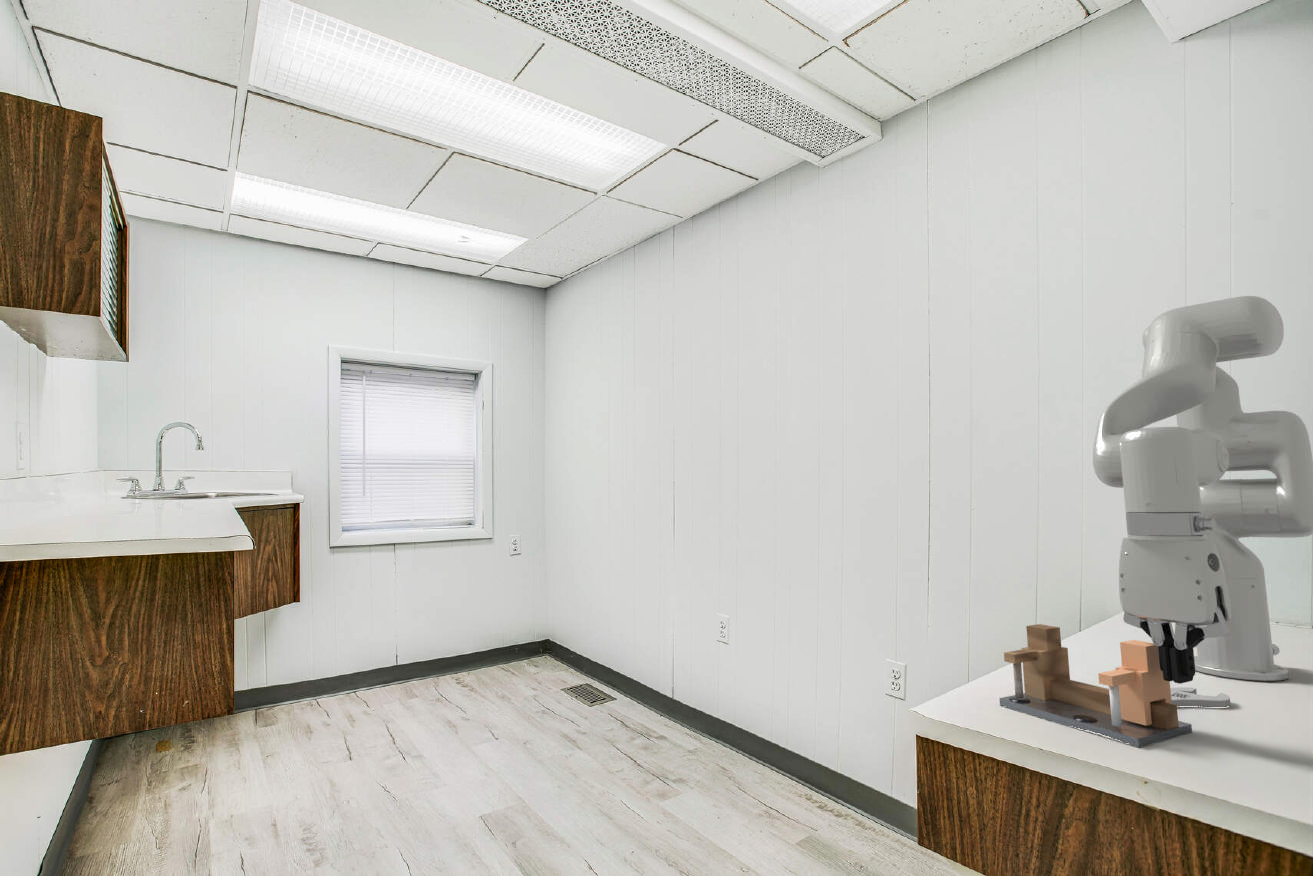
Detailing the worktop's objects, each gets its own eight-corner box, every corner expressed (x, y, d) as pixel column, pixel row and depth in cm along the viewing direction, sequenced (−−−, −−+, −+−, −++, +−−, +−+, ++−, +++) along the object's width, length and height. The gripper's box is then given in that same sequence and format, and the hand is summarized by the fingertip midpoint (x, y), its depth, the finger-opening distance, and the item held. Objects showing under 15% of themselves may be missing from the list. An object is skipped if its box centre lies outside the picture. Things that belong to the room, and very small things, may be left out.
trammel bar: (1049, 688, 96) (1044, 623, 97) (1186, 724, 80) (1178, 645, 81) (1001, 698, 92) (996, 629, 93) (1135, 738, 76) (1128, 654, 77)
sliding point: (1146, 711, 84) (1140, 638, 85) (1173, 718, 81) (1166, 643, 82) (1096, 724, 80) (1090, 647, 81) (1122, 731, 77) (1115, 652, 78)
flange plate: (1051, 695, 96) (1050, 687, 96) (1192, 732, 80) (1191, 723, 80) (999, 705, 92) (999, 697, 92) (1138, 747, 75) (1137, 738, 76)
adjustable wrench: (1080, 724, 85) (1079, 710, 86) (1043, 709, 92) (1042, 696, 92) (1240, 710, 89) (1239, 697, 90) (1195, 696, 96) (1194, 684, 96)
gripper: (1255, 528, 75) (1273, 692, 73) (1118, 525, 89) (1130, 663, 87) (1220, 530, 72) (1238, 701, 70) (1083, 526, 85) (1095, 670, 84)
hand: (1178, 680), depth 78 cm, fingers closed
